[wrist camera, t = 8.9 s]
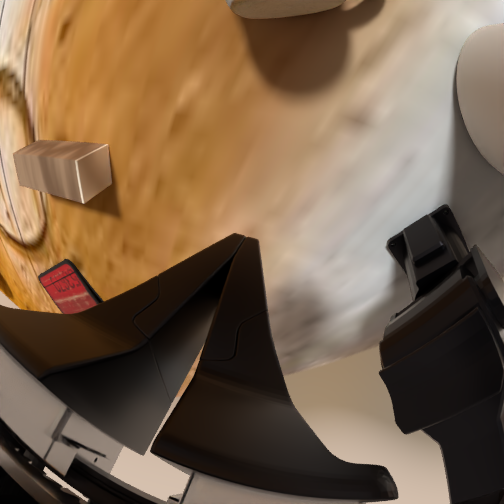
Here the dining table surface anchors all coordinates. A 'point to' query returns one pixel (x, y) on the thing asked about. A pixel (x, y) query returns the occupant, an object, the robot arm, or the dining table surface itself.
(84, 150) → the walnut block
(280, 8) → the ceramic mug
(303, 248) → the dining table surface
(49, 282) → the binder
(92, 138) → the dining table surface
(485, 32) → the cylinder vase
